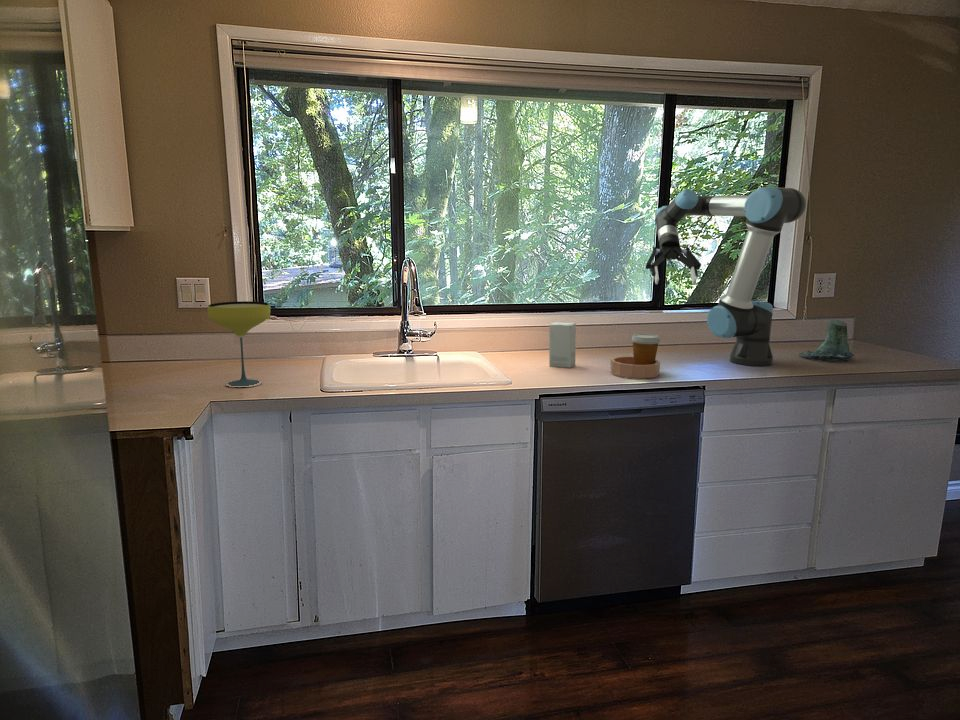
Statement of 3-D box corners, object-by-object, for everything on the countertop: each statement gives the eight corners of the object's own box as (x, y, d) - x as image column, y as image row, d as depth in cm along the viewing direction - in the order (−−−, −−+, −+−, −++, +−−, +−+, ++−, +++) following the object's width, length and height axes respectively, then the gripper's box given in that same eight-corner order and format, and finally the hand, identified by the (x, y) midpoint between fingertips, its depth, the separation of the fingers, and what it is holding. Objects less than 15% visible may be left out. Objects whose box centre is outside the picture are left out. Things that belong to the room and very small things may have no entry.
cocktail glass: (203, 391, 200) (197, 307, 195) (225, 377, 218) (220, 301, 213) (263, 391, 200) (259, 308, 195) (281, 378, 218) (277, 301, 213)
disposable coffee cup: (659, 373, 225) (661, 338, 223) (630, 372, 227) (631, 337, 225) (657, 368, 234) (659, 334, 232) (629, 366, 236) (631, 333, 234)
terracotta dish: (653, 369, 238) (653, 356, 237) (663, 379, 222) (664, 365, 221) (607, 368, 238) (607, 355, 237) (614, 378, 222) (615, 365, 221)
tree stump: (827, 354, 273) (842, 313, 266) (861, 375, 255) (877, 332, 248) (788, 352, 269) (801, 311, 262) (819, 375, 251) (835, 331, 244)
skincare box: (575, 365, 243) (577, 322, 240) (570, 368, 237) (571, 325, 234) (553, 363, 246) (555, 321, 243) (547, 366, 240) (549, 323, 237)
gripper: (698, 247, 261) (707, 289, 249) (634, 246, 262) (640, 288, 250) (703, 233, 255) (712, 275, 243) (638, 232, 256) (643, 274, 244)
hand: (675, 282), depth 247 cm, fingers open, 13 cm apart
